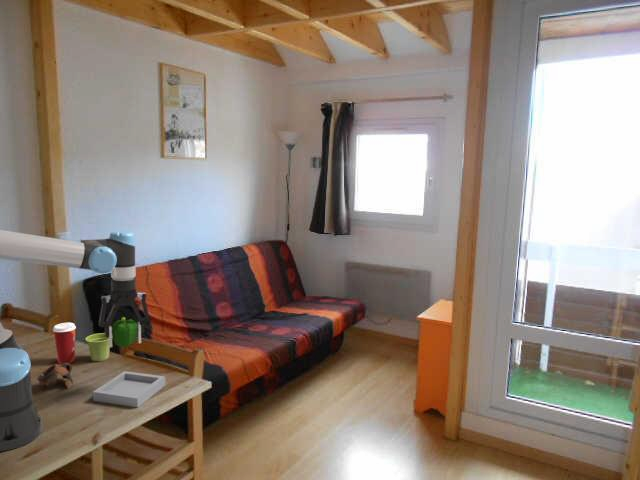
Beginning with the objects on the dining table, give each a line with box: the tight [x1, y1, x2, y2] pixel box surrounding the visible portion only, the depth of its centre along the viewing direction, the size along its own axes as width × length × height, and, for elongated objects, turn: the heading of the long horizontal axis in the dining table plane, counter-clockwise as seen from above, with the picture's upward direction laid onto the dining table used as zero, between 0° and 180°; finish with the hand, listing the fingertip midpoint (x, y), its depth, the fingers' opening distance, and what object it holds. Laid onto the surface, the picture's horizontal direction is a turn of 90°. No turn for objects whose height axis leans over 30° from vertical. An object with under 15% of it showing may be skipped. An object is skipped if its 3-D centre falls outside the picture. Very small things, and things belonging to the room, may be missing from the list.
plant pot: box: [85, 332, 111, 362], centre depth 182 cm, size 9×9×9 cm
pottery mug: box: [36, 363, 74, 389], centre depth 161 cm, size 12×9×8 cm
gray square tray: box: [92, 370, 167, 408], centre depth 156 cm, size 16×16×3 cm
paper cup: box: [52, 322, 77, 364], centre depth 180 cm, size 8×8×14 cm
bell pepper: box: [110, 316, 138, 348], centre depth 159 cm, size 8×8×10 cm
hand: (125, 343), depth 159 cm, fingers closed on bell pepper, 8 cm apart
